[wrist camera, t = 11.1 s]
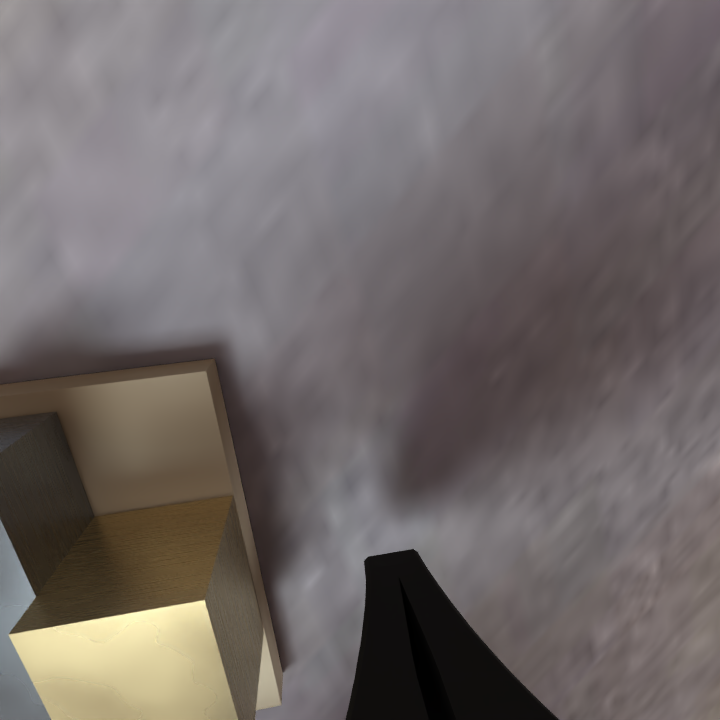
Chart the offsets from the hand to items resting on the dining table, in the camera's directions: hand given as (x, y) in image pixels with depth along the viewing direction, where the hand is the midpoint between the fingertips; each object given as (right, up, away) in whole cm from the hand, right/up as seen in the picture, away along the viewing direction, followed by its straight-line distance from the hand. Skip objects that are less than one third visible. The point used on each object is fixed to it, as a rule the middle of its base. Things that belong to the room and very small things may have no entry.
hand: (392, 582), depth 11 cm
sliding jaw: (-7, 0, +1) cm, 7 cm away
